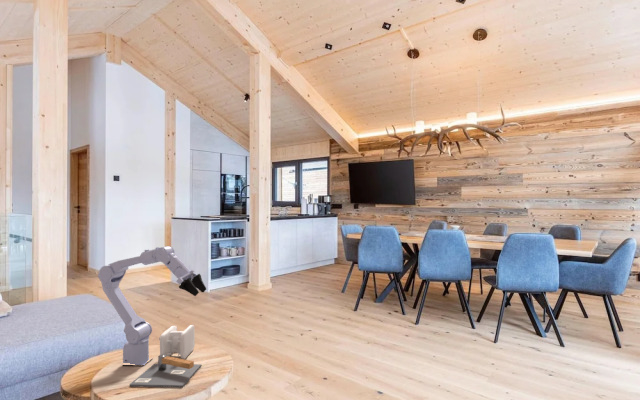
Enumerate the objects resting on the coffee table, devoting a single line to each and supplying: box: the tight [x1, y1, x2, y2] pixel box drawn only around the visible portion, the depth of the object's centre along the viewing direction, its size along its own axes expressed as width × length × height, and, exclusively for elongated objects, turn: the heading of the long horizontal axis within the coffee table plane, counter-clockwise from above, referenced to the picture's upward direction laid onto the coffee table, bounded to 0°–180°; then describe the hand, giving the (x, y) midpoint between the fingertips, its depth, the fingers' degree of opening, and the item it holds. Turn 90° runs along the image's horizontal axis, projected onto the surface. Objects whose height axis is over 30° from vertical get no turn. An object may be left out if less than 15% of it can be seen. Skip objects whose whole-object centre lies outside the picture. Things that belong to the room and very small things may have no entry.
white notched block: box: [159, 324, 196, 360], centre depth 168 cm, size 15×11×12 cm
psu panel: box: [129, 363, 202, 389], centre depth 147 cm, size 20×18×1 cm
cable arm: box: [157, 354, 195, 371], centre depth 149 cm, size 16×3×5 cm, turn 66°
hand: (201, 292), depth 157 cm, fingers open, 7 cm apart
